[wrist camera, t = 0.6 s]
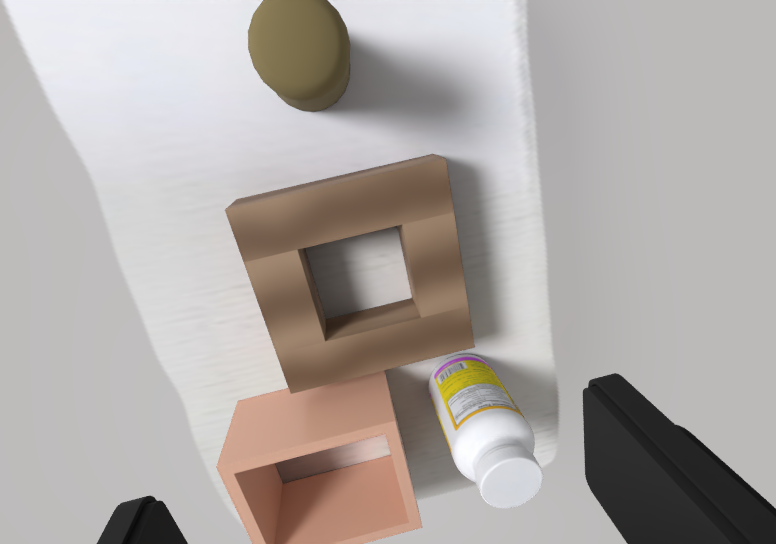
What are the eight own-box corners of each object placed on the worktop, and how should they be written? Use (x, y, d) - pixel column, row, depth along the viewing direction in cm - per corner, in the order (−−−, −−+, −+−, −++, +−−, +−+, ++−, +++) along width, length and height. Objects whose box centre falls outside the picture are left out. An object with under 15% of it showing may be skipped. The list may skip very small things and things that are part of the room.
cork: (367, 74, 31) (385, 53, 21) (306, 129, 32) (296, 134, 22) (310, -1, 29) (300, -65, 19) (247, 60, 30) (204, 30, 20)
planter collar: (237, 401, 39) (216, 467, 32) (383, 364, 40) (395, 420, 32) (276, 493, 44) (265, 570, 36) (406, 458, 44) (422, 527, 37)
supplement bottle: (479, 412, 43) (535, 523, 32) (418, 402, 42) (454, 516, 30) (501, 356, 41) (571, 453, 29) (438, 345, 40) (485, 442, 28)
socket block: (236, 199, 33) (224, 209, 29) (433, 153, 34) (445, 158, 30) (294, 367, 39) (290, 394, 35) (461, 325, 40) (474, 347, 36)
